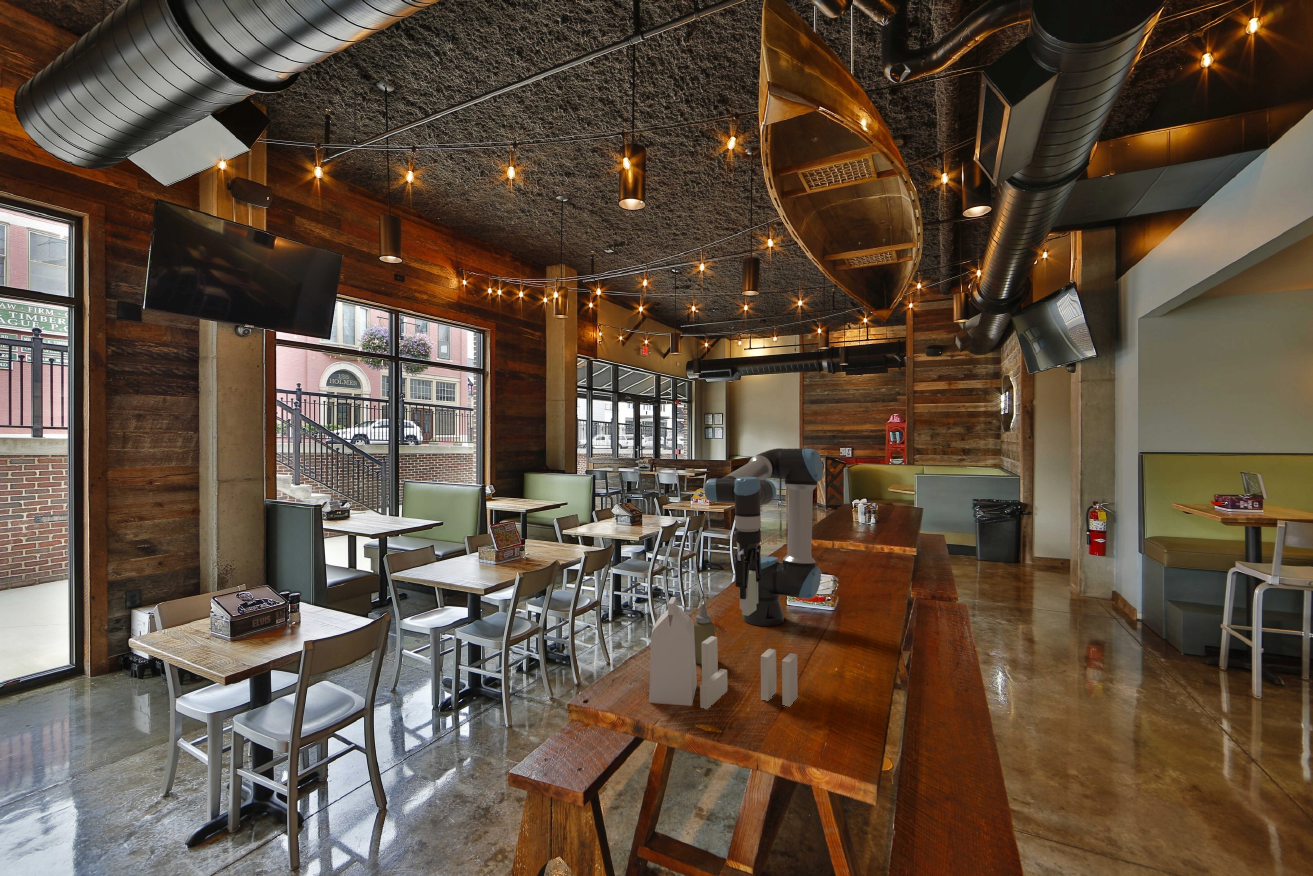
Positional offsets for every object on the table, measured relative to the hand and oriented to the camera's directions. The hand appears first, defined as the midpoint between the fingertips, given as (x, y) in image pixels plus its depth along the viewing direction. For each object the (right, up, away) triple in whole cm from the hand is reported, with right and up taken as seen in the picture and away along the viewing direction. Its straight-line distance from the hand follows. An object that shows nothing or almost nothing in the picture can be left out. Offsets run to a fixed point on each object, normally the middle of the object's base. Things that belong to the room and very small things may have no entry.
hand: (749, 605), depth 171 cm
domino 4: (+3, -20, -16) cm, 26 cm away
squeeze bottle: (-13, -20, +8) cm, 25 cm away
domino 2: (-9, -17, -12) cm, 23 cm away
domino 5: (+8, -20, -19) cm, 29 cm away
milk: (-23, -21, -13) cm, 34 cm away
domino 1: (-12, -20, -6) cm, 24 cm away
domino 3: (0, -2, 0) cm, 2 cm away
